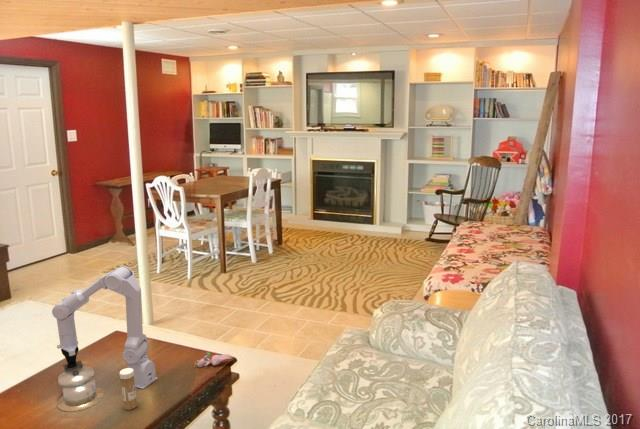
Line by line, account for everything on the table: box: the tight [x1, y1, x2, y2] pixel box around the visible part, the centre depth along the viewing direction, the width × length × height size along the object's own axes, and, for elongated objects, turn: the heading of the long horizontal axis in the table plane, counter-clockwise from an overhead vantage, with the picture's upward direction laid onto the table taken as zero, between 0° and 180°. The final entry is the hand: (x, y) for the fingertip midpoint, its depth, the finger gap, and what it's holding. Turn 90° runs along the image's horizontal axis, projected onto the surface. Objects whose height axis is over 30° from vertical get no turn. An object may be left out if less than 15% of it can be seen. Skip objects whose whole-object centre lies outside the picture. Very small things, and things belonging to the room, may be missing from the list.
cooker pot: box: [56, 377, 105, 413], centre depth 178 cm, size 15×15×6 cm
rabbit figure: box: [193, 352, 233, 369], centre depth 199 cm, size 6×6×15 cm
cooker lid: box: [57, 359, 95, 388], centre depth 182 cm, size 15×12×2 cm
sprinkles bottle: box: [119, 367, 138, 411], centre depth 172 cm, size 5×5×13 cm
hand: (72, 365), depth 190 cm, fingers closed
